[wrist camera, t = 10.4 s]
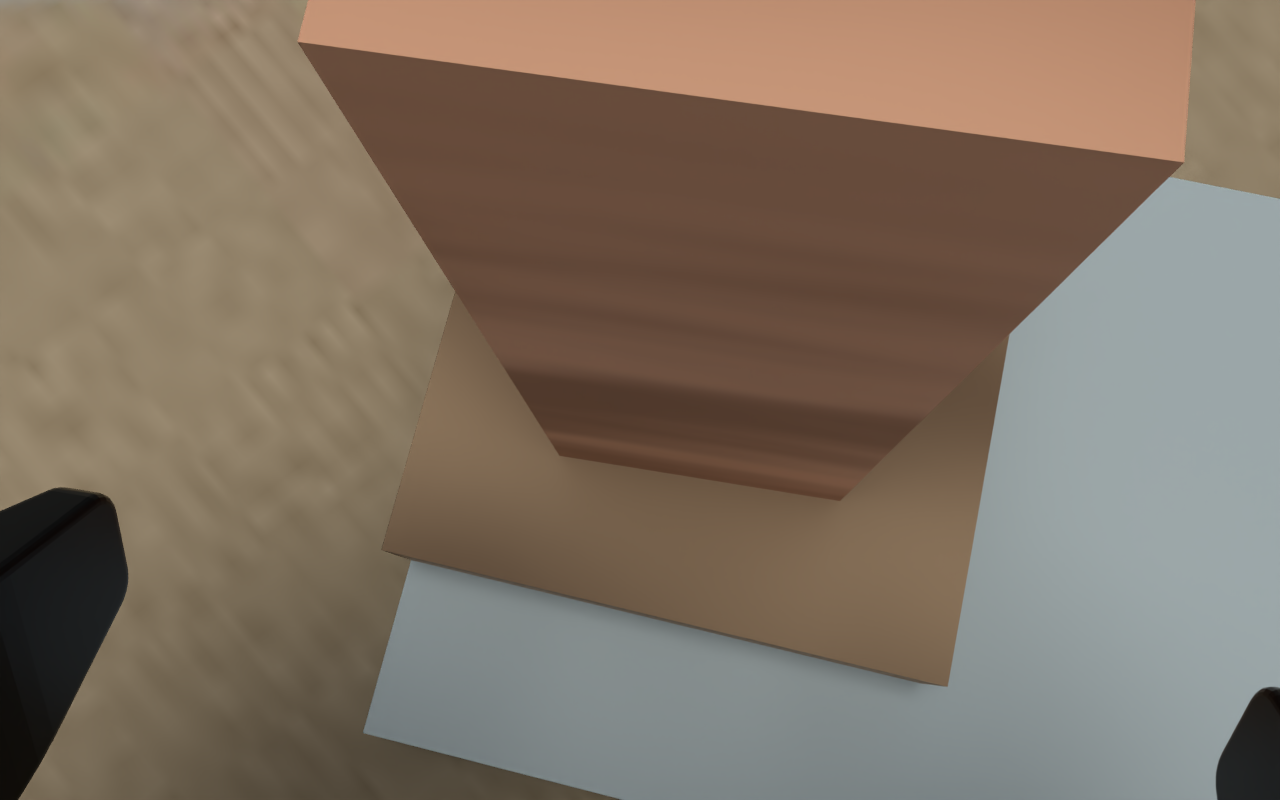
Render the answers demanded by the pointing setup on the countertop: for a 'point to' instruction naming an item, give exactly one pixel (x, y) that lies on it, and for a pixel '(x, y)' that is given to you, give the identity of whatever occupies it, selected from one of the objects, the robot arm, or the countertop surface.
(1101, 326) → the board
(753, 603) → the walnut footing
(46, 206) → the countertop surface
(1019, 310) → the terracotta pillar
